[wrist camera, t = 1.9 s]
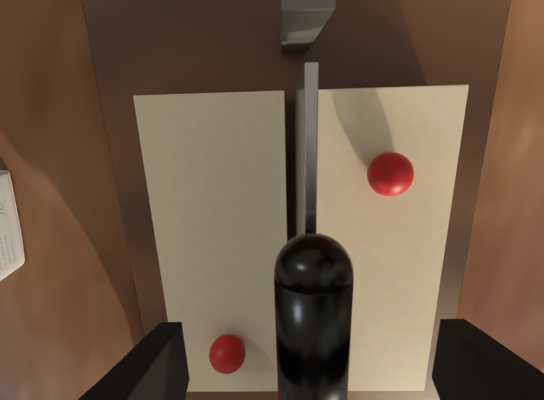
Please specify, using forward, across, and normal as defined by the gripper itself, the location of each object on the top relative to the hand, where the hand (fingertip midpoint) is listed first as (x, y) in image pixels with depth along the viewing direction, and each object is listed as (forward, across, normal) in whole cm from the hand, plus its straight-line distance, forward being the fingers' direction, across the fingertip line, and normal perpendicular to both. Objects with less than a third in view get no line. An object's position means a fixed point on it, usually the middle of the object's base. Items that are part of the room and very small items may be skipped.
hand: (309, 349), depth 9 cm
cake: (+9, 0, 0) cm, 9 cm away
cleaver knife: (+5, 0, 0) cm, 5 cm away
